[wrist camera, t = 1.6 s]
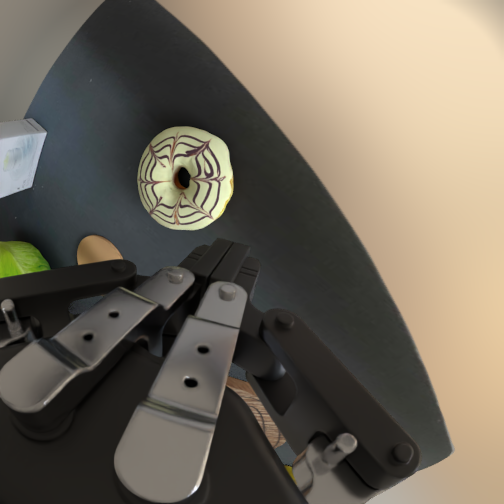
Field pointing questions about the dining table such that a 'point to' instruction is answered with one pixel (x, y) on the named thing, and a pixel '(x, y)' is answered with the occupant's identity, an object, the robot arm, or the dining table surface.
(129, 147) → the dining table surface
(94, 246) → the cork coaster
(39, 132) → the cosmetics box
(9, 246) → the lettuce
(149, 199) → the decorated donut
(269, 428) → the trivet
